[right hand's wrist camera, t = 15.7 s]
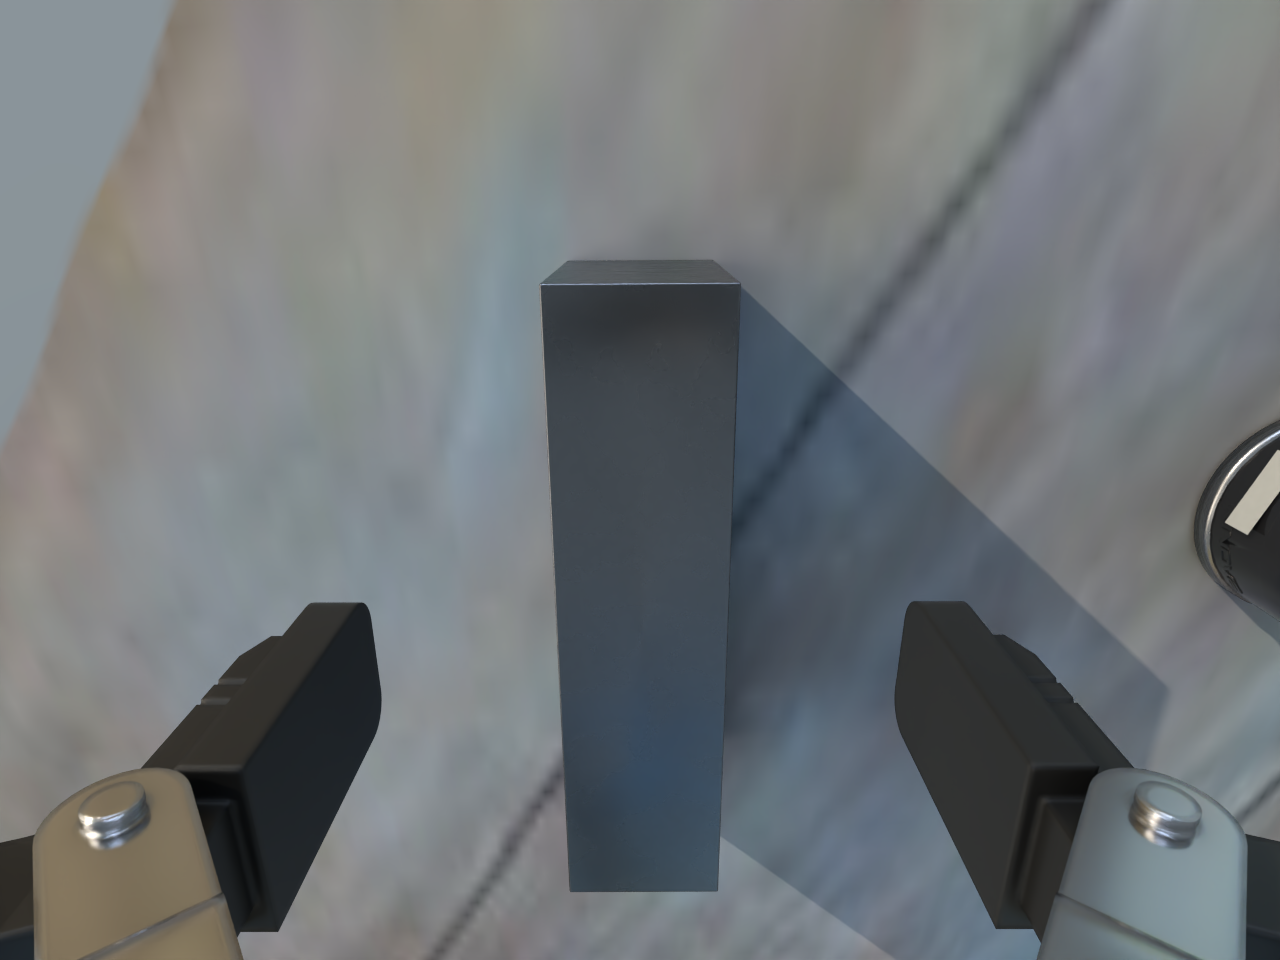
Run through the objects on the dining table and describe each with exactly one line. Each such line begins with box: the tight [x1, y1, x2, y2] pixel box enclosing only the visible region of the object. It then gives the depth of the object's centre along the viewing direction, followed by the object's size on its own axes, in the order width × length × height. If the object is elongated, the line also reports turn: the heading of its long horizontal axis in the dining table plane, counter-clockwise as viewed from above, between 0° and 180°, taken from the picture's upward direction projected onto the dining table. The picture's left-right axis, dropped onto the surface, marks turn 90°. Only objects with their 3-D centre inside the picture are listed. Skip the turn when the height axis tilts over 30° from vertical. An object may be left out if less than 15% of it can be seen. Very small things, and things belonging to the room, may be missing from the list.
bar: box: [539, 260, 741, 892], centre depth 31 cm, size 24×6×9 cm, turn 0°
